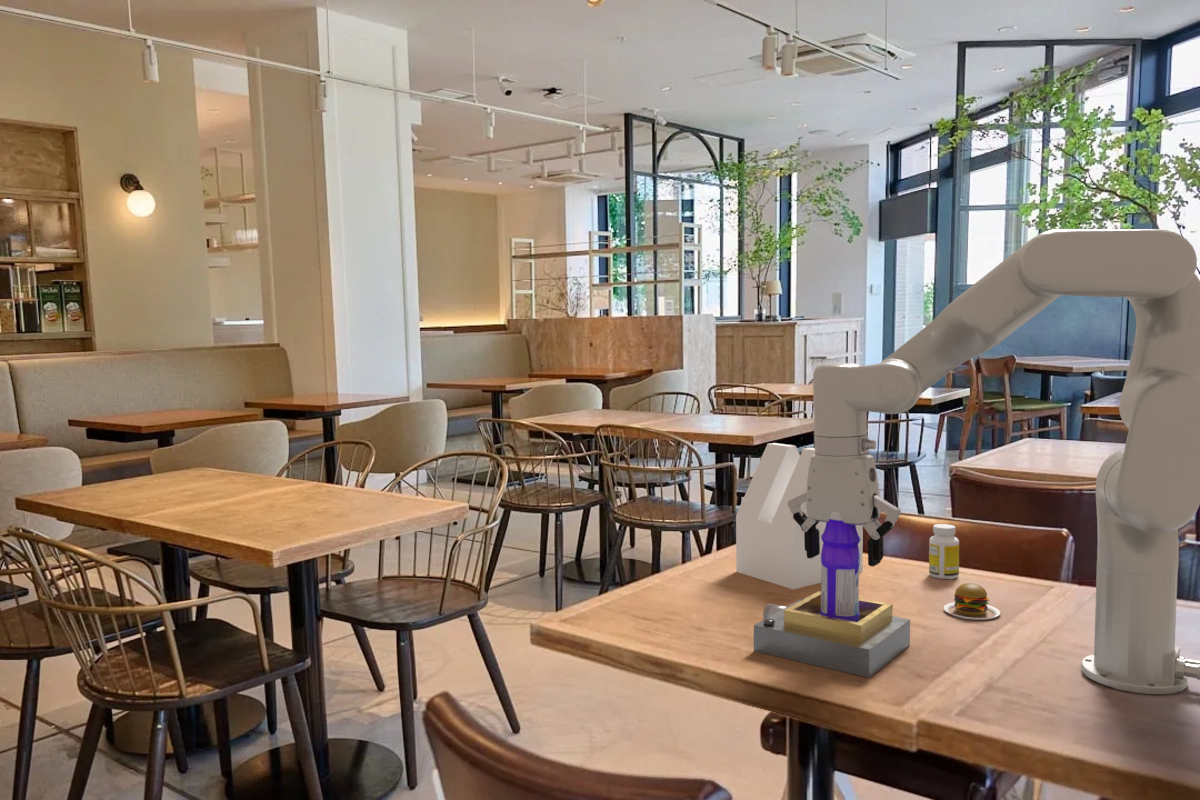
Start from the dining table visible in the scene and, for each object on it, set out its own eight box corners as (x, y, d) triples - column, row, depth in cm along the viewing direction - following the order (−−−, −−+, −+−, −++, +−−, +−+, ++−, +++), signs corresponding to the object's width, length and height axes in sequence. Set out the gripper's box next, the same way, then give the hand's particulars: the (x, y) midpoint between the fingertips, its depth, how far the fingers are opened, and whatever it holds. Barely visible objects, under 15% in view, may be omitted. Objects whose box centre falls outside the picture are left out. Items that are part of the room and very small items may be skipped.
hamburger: (991, 633, 146) (992, 599, 146) (920, 616, 155) (921, 585, 155) (1022, 615, 155) (1022, 583, 154) (953, 601, 163) (953, 570, 163)
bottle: (860, 632, 134) (862, 514, 132) (820, 629, 135) (821, 513, 134) (857, 616, 141) (859, 504, 139) (819, 613, 142) (821, 503, 141)
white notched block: (803, 557, 193) (804, 439, 191) (862, 572, 181) (863, 446, 179) (736, 572, 182) (735, 447, 180) (793, 590, 170) (793, 456, 168)
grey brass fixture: (909, 644, 140) (910, 603, 139) (869, 677, 127) (869, 632, 127) (779, 618, 153) (779, 580, 153) (730, 645, 141) (730, 604, 140)
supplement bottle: (961, 574, 178) (962, 524, 177) (955, 581, 173) (956, 530, 172) (932, 570, 181) (933, 521, 180) (925, 577, 176) (926, 527, 175)
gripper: (907, 446, 134) (909, 561, 135) (798, 441, 144) (801, 548, 146) (888, 452, 128) (890, 573, 129) (776, 447, 138) (779, 559, 140)
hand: (843, 560), depth 137 cm, fingers open, 9 cm apart
